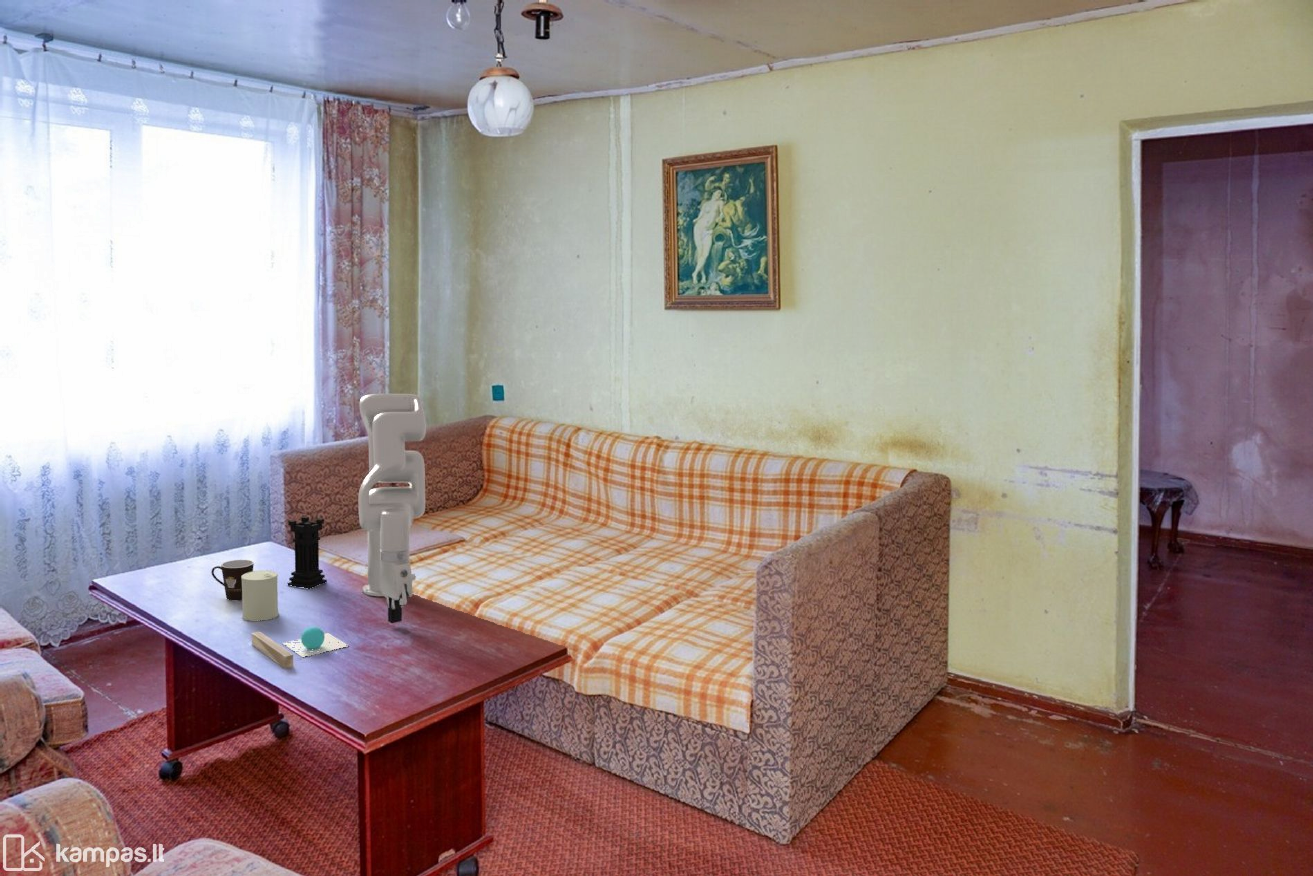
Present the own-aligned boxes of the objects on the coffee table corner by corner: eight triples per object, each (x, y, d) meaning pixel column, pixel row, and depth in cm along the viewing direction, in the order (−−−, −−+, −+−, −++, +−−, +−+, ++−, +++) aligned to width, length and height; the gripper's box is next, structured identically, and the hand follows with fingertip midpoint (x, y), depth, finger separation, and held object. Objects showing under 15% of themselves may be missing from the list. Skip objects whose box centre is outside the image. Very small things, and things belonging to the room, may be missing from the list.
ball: (297, 625, 231) (295, 647, 232) (310, 631, 228) (308, 653, 228) (317, 623, 236) (315, 644, 236) (330, 628, 232) (327, 649, 233)
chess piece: (326, 582, 286) (326, 518, 283) (309, 589, 279) (308, 524, 276) (305, 578, 289) (304, 516, 286) (287, 585, 281) (286, 521, 278)
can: (265, 623, 249) (264, 579, 247) (234, 619, 251) (233, 576, 249) (285, 612, 258) (284, 570, 256) (255, 609, 260) (254, 567, 258)
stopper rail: (259, 643, 235) (259, 631, 234) (293, 666, 221) (293, 654, 220) (251, 644, 233) (251, 633, 233) (284, 668, 219) (284, 656, 219)
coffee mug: (260, 596, 270) (260, 563, 269) (233, 603, 263) (232, 569, 262) (236, 588, 276) (236, 556, 275) (209, 595, 269) (208, 562, 268)
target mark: (327, 633, 243) (327, 632, 243) (349, 646, 234) (349, 645, 234) (282, 643, 235) (282, 643, 235) (302, 657, 226) (302, 657, 226)
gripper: (421, 559, 244) (421, 626, 247) (393, 547, 255) (393, 611, 258) (396, 563, 239) (396, 632, 242) (368, 551, 250) (368, 617, 252)
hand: (394, 621), depth 250 cm, fingers closed
